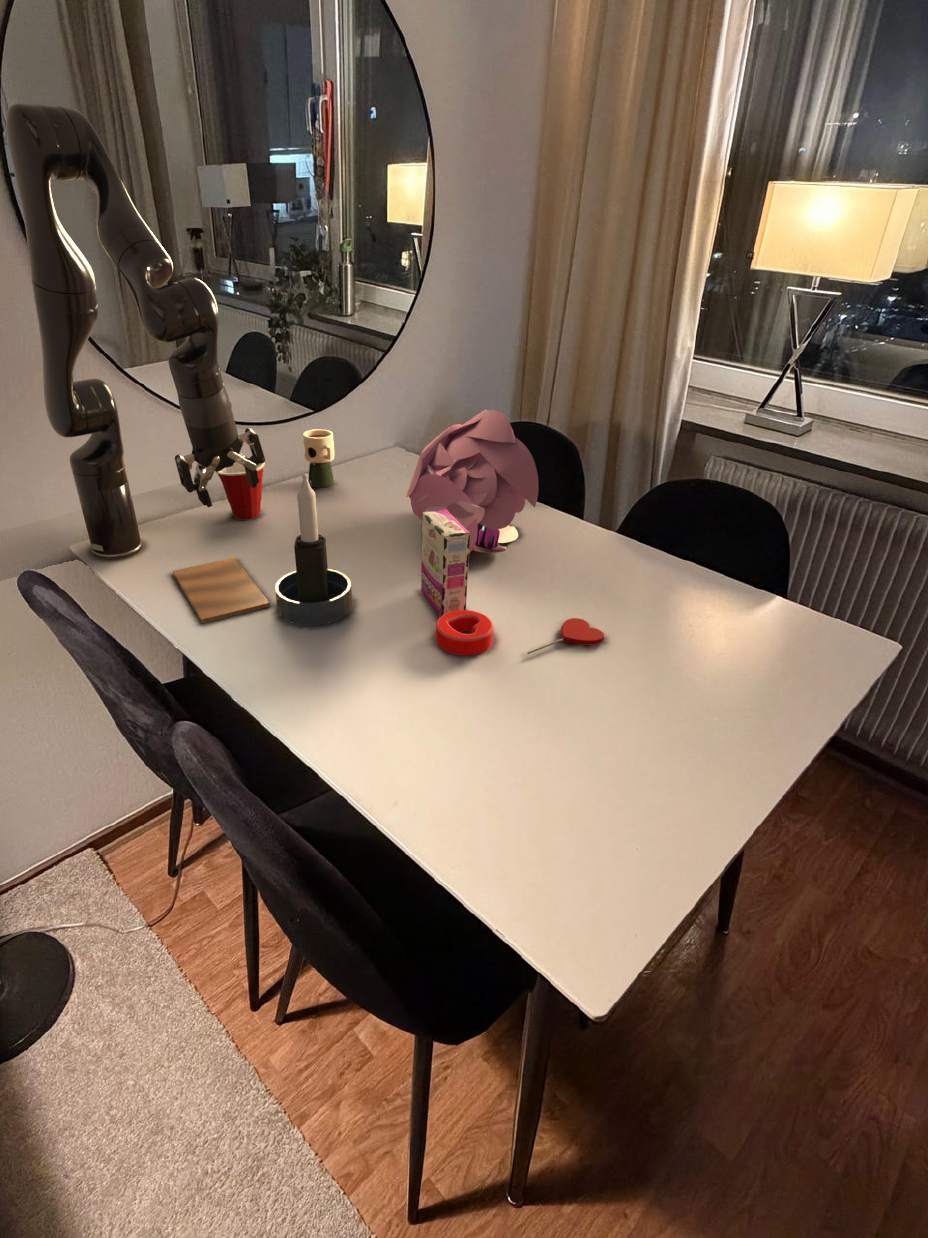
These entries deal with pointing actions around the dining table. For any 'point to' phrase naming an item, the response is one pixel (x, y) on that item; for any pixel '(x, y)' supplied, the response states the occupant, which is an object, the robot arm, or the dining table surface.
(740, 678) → the dining table surface
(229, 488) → the plastic cup
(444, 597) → the candy bar box
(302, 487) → the candle
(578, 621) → the lollipop
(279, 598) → the bowl
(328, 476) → the character mug
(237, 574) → the mat
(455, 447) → the flower arrangement
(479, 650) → the decorative ornament
